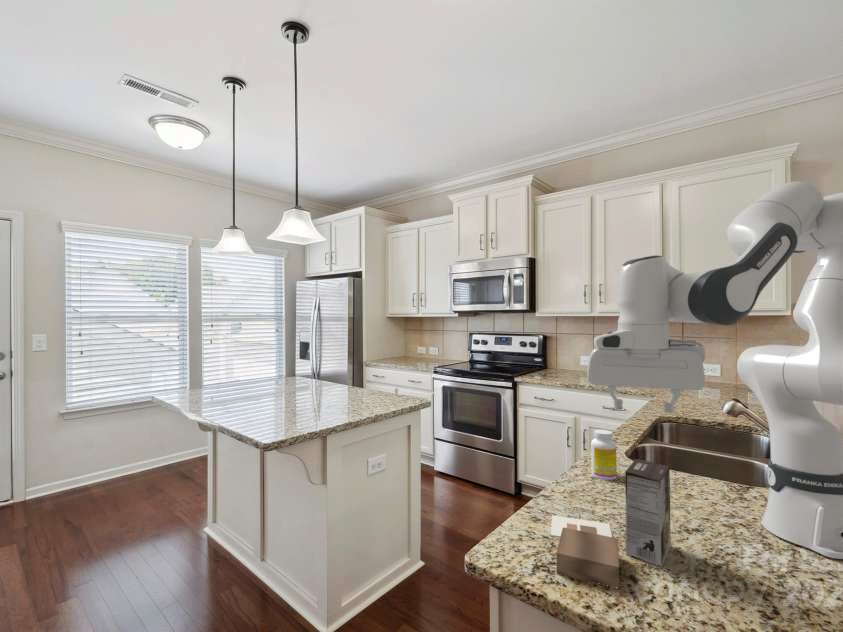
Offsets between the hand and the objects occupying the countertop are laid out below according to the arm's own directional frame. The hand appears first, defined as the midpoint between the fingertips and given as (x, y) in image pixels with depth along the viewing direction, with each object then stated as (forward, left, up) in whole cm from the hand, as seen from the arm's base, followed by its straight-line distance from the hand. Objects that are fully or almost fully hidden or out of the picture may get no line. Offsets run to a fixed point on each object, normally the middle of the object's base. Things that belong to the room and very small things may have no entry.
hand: (642, 410), depth 80 cm
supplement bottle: (+4, -39, -28) cm, 47 cm away
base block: (+10, +8, -28) cm, 31 cm away
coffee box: (-1, -1, -28) cm, 28 cm away
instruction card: (+11, -5, -27) cm, 30 cm away
